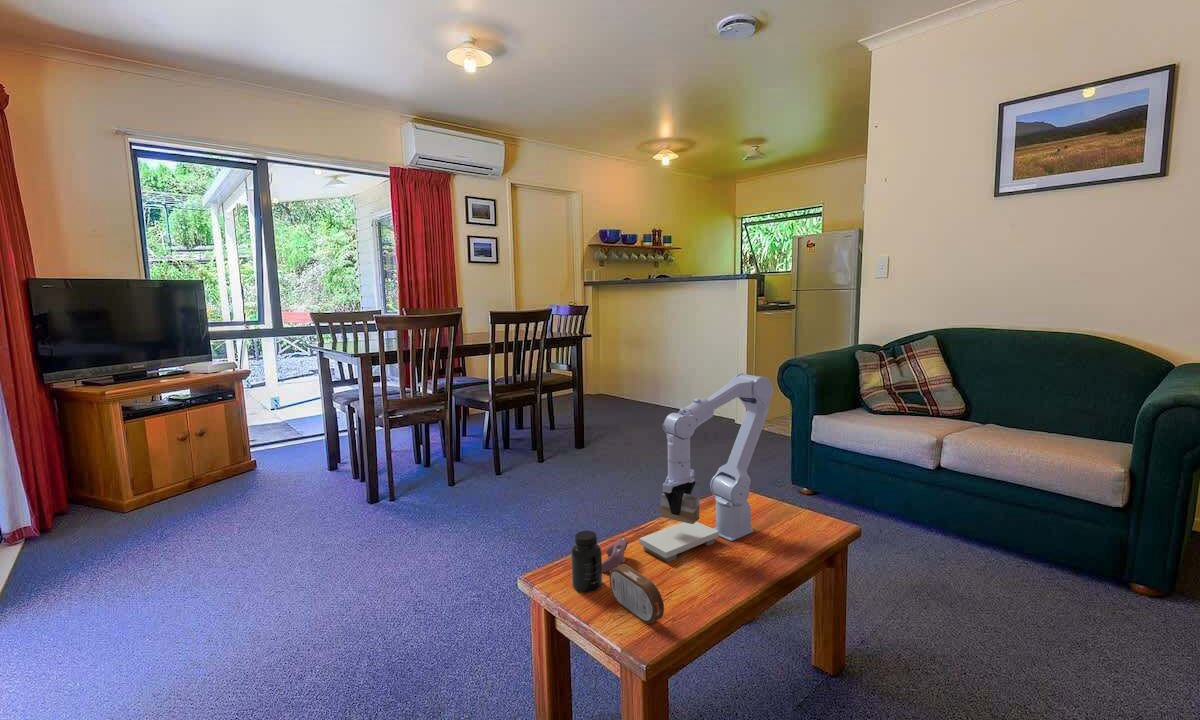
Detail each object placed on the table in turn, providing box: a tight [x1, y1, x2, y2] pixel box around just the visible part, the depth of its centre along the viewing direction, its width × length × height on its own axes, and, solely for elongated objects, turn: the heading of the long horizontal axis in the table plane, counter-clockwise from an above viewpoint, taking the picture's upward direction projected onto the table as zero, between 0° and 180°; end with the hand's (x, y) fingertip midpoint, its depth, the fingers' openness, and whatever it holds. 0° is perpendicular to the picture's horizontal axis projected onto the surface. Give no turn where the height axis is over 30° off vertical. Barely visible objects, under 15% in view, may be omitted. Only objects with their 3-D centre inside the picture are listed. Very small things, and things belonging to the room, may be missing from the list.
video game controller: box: [602, 537, 629, 573], centre depth 127 cm, size 10×5×7 cm, turn 168°
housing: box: [660, 492, 700, 524], centre depth 135 cm, size 4×9×6 cm, turn 56°
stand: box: [638, 521, 720, 563], centre depth 136 cm, size 19×10×3 cm, turn 126°
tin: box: [609, 563, 665, 625], centre depth 107 cm, size 15×3×8 cm, turn 35°
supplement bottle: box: [570, 530, 603, 594], centre depth 117 cm, size 7×7×12 cm
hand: (679, 511), depth 135 cm, fingers closed on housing, 4 cm apart
